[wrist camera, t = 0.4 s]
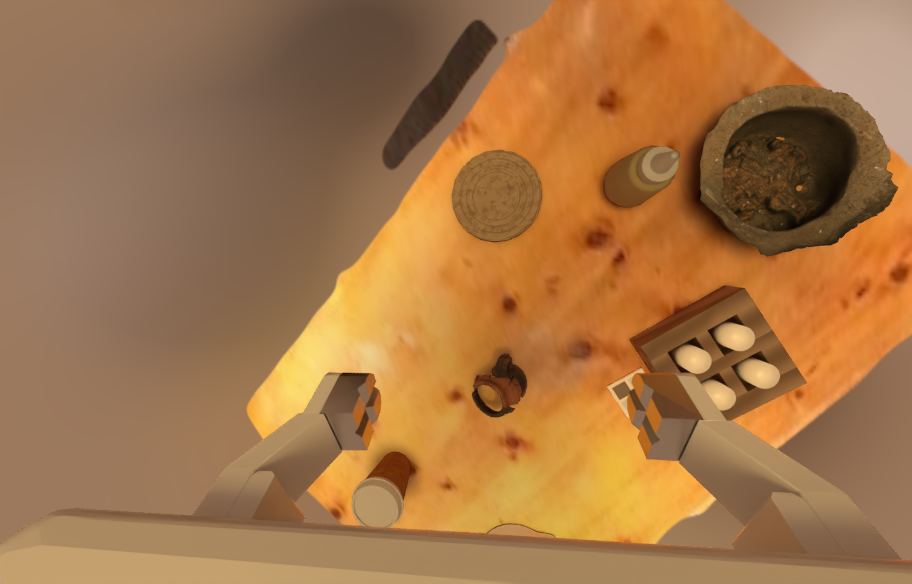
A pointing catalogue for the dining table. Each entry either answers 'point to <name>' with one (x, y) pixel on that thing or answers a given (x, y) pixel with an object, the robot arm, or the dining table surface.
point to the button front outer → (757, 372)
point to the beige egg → (732, 336)
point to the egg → (691, 358)
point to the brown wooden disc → (497, 195)
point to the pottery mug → (502, 386)
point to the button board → (721, 347)
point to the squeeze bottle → (641, 175)
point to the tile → (623, 389)
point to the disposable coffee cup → (382, 492)
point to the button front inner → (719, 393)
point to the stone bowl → (795, 168)
